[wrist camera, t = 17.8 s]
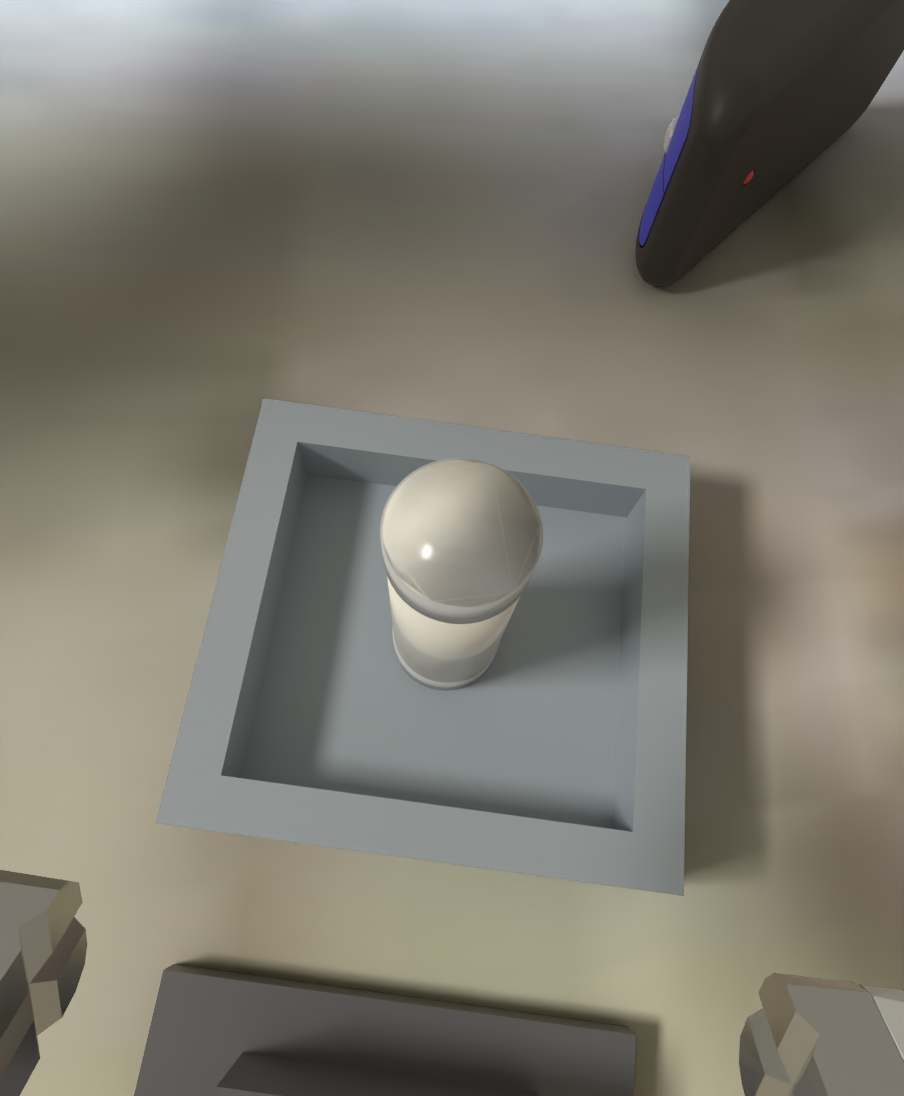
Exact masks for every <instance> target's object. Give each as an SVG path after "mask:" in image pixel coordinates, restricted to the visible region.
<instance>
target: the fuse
mask: <svg viewBox="0 0 904 1096" xmlns="http://www.w3.org/2000/svg"><path fill="white" fill-rule="evenodd" d="M380 540H381V548H382V556H383V562H384V568H385V571H386V574H387V580H388V588H389V597H390V606H391V614H392V623H393V627H392V635H393V644H394V650H395V654H396V657H397V659H398V661H399V663H400V665H401V667H402V668H403V670H404V671H405V672H406V673H407V674H408V675H409V676H410V677H411V678H412V679H413V680H415V681H416V682H418V683H419V684H421V685H423V686H425V687H428V688H431V689H435V690H443V691H449V690H456V689H461V688H463V687H466V686H468V685H470V684H472V683H474V682H475V681H477V680H478V679H479V678H480V677H481V676H483V674H484V673H485V672H486V671H487V670H488V668H489V667H490V665H491V663H492V661H493V659H494V657H495V655H496V653H497V650H498V647H499V644H500V640H501V638H502V636H503V633H504V631H505V629H506V627H507V624H508V622H509V620H510V618H511V616H512V613H513V611H514V609H515V607H516V604H517V602H518V600H519V598H520V596H521V595H522V593H523V592H524V590H525V589H526V587H527V585H528V583H529V581H530V579H531V576H532V574H533V572H534V570H535V568H536V566H537V563H538V561H539V558H540V555H541V552H542V546H543V525H542V520H541V516H540V512H539V510H538V507H537V505H536V503H535V501H534V499H533V498H532V496H531V494H530V493H529V492H528V490H527V489H526V488H525V486H524V485H523V484H522V483H521V482H520V481H519V480H518V479H516V478H515V477H514V476H513V475H511V474H510V473H508V472H507V471H505V470H504V469H502V468H500V467H498V466H496V465H493V464H491V463H488V462H485V461H482V460H477V459H471V458H449V459H443V460H439V461H435V462H432V463H429V464H427V465H424V466H422V467H420V468H419V469H417V470H415V471H413V472H412V473H411V474H409V475H408V476H407V477H405V478H404V479H403V480H402V481H401V482H400V483H399V484H398V486H397V487H396V488H395V489H394V491H393V492H392V494H391V495H390V497H389V499H388V501H387V503H386V505H385V508H384V510H383V514H382V518H381V526H380Z"/></svg>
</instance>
